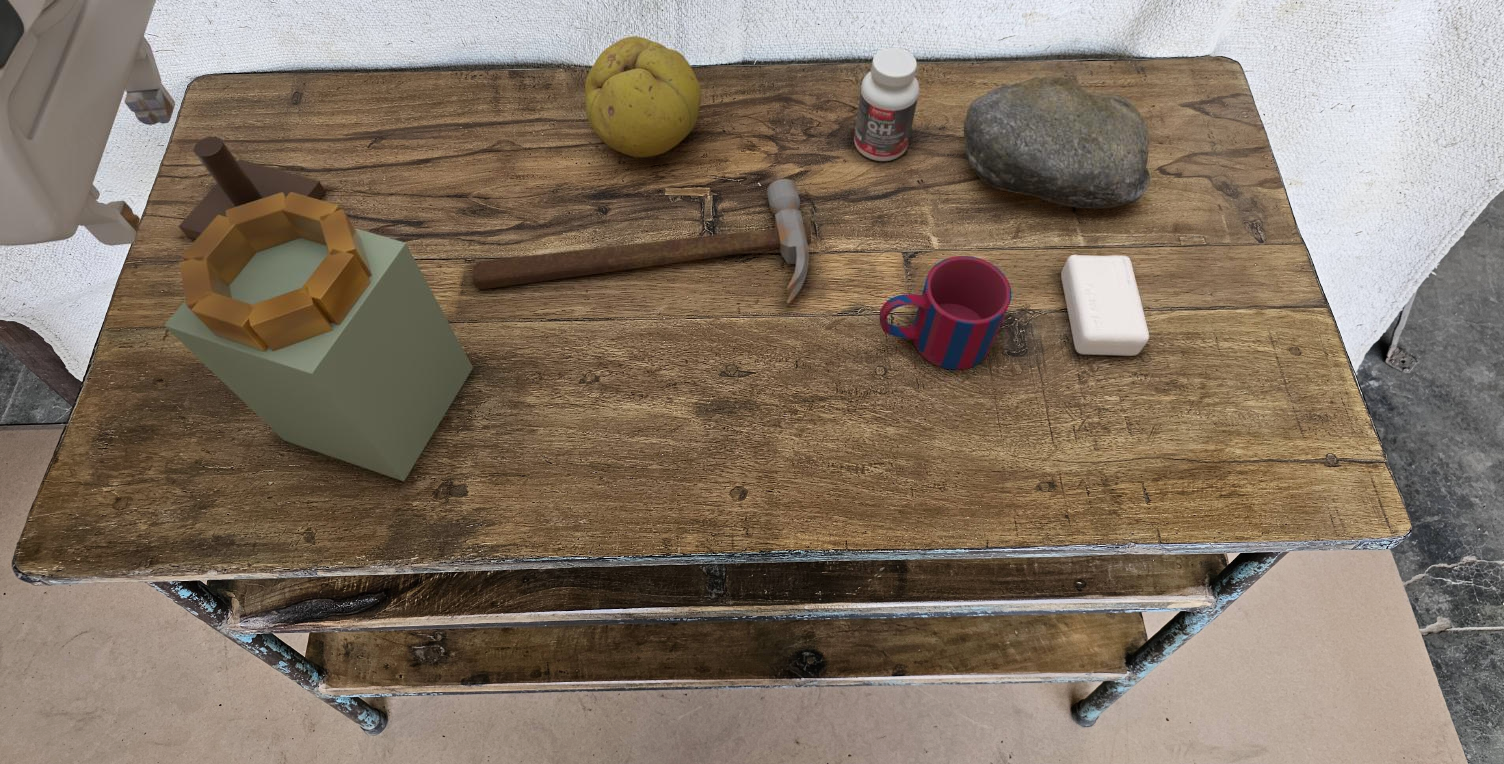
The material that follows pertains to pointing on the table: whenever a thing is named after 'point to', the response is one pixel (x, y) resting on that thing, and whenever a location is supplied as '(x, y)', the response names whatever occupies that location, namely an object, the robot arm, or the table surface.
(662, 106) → the fruit
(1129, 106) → the stone
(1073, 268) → the soap
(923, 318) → the cup
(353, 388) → the pedestal
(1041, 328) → the table surface
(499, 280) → the hammer
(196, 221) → the stand
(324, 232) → the ring
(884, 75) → the pill bottle
